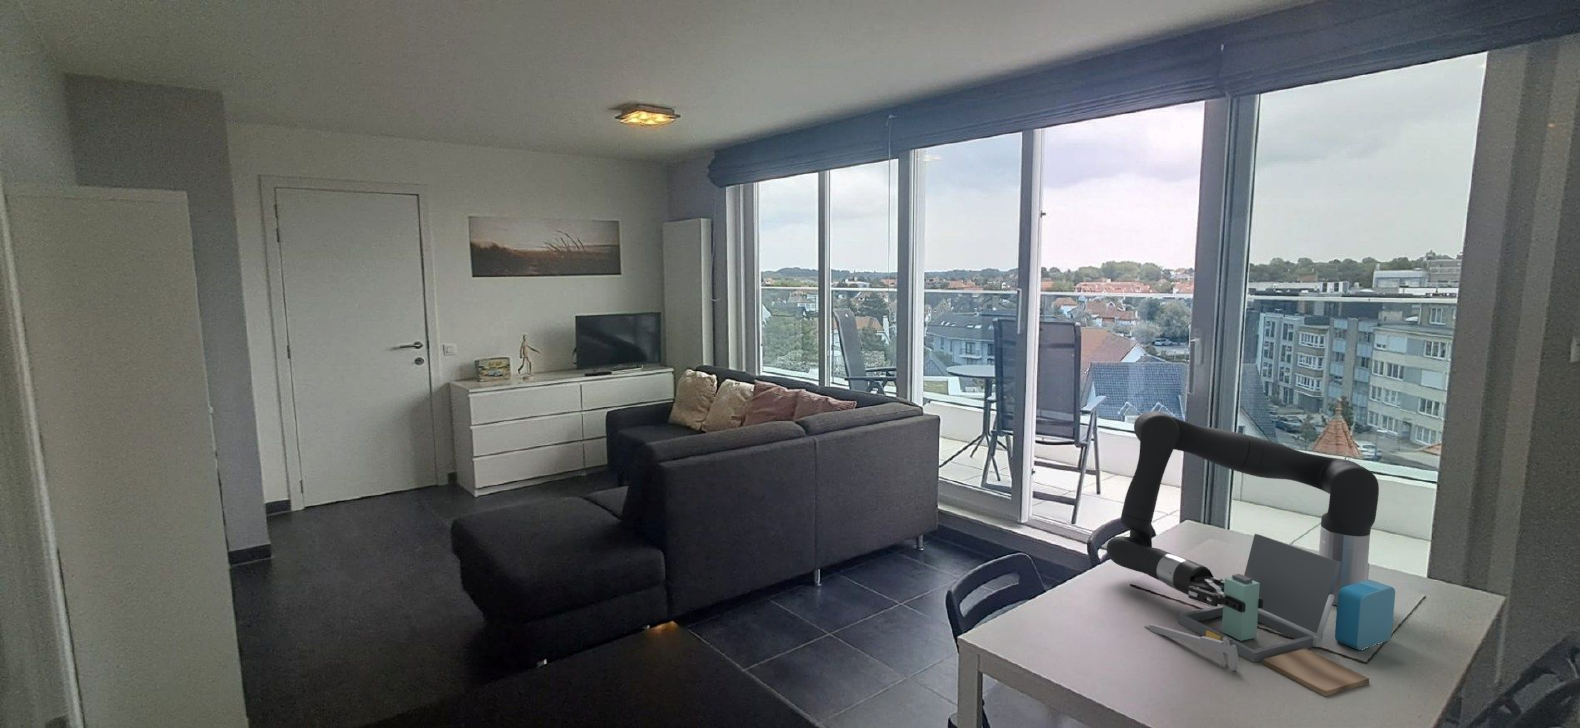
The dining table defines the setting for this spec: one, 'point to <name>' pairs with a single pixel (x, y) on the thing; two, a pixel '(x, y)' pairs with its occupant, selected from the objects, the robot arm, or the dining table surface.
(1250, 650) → the equipment case
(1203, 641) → the caliper
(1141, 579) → the dining table surface
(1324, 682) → the walnut board
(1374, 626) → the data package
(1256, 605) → the block
